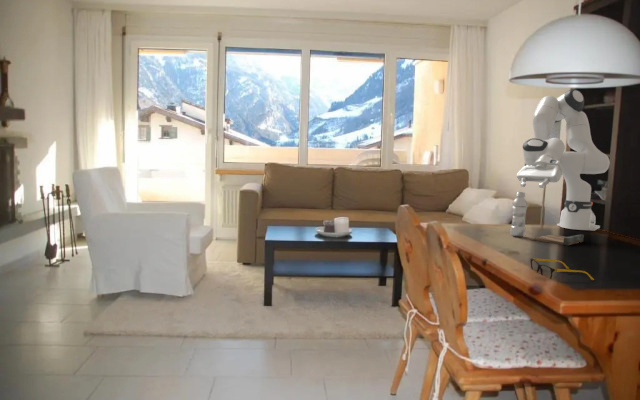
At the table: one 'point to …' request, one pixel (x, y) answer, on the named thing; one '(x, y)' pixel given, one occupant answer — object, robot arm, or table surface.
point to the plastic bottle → (519, 215)
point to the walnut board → (561, 239)
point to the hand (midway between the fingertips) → (531, 186)
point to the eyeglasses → (554, 269)
